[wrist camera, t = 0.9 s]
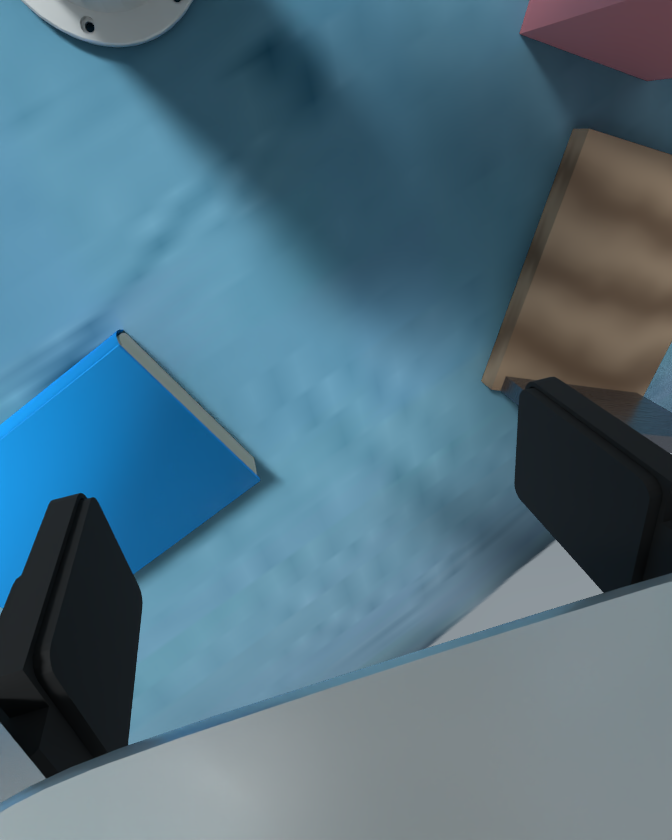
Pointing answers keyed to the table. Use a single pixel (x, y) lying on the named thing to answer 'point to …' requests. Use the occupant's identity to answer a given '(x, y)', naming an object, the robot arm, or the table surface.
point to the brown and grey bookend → (596, 284)
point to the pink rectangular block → (607, 32)
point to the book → (116, 457)
